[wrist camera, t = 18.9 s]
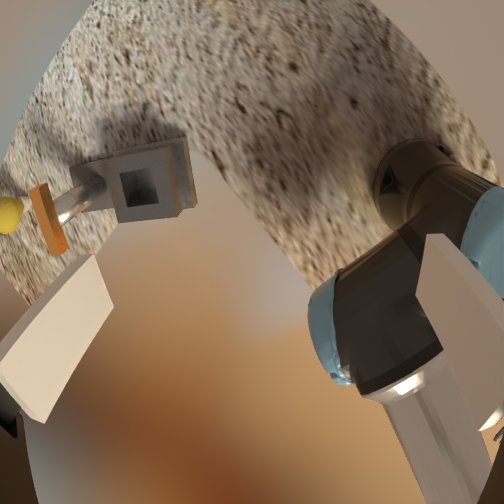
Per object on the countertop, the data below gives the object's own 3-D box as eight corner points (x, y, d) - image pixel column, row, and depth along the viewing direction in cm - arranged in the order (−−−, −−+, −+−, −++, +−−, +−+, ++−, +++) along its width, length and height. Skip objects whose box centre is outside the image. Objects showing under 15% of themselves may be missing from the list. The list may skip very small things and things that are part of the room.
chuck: (186, 136, 39) (171, 142, 33) (197, 202, 44) (185, 219, 38) (118, 149, 40) (96, 158, 35) (132, 210, 45) (113, 227, 39)
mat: (121, 154, 41) (117, 155, 40) (131, 203, 44) (129, 205, 43) (72, 166, 42) (69, 167, 41) (83, 210, 46) (80, 212, 45)
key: (82, 161, 40) (24, 191, 28) (99, 156, 40) (42, 186, 28) (96, 213, 45) (47, 255, 33) (113, 210, 44) (65, 253, 32)
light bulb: (23, 178, 43) (-13, 196, 34) (43, 200, 45) (8, 222, 36) (14, 202, 46) (-19, 223, 37) (33, 223, 48) (1, 247, 39)
